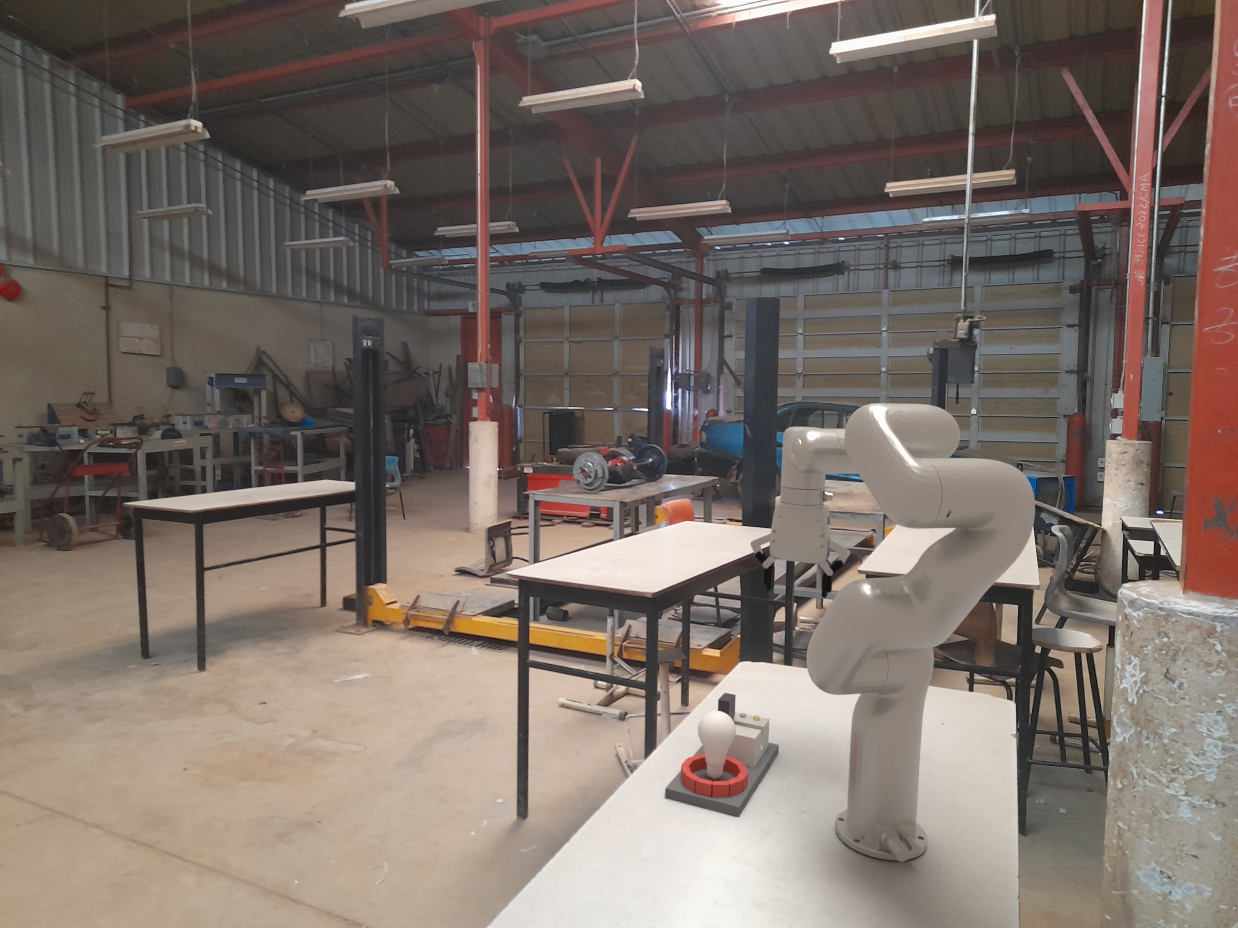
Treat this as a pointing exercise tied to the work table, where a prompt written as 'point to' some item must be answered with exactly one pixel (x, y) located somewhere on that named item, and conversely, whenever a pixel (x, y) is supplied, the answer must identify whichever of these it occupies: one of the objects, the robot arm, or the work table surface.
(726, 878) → the work table surface
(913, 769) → the robot arm
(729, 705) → the block
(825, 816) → the work table surface
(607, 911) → the work table surface
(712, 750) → the lightbulb
